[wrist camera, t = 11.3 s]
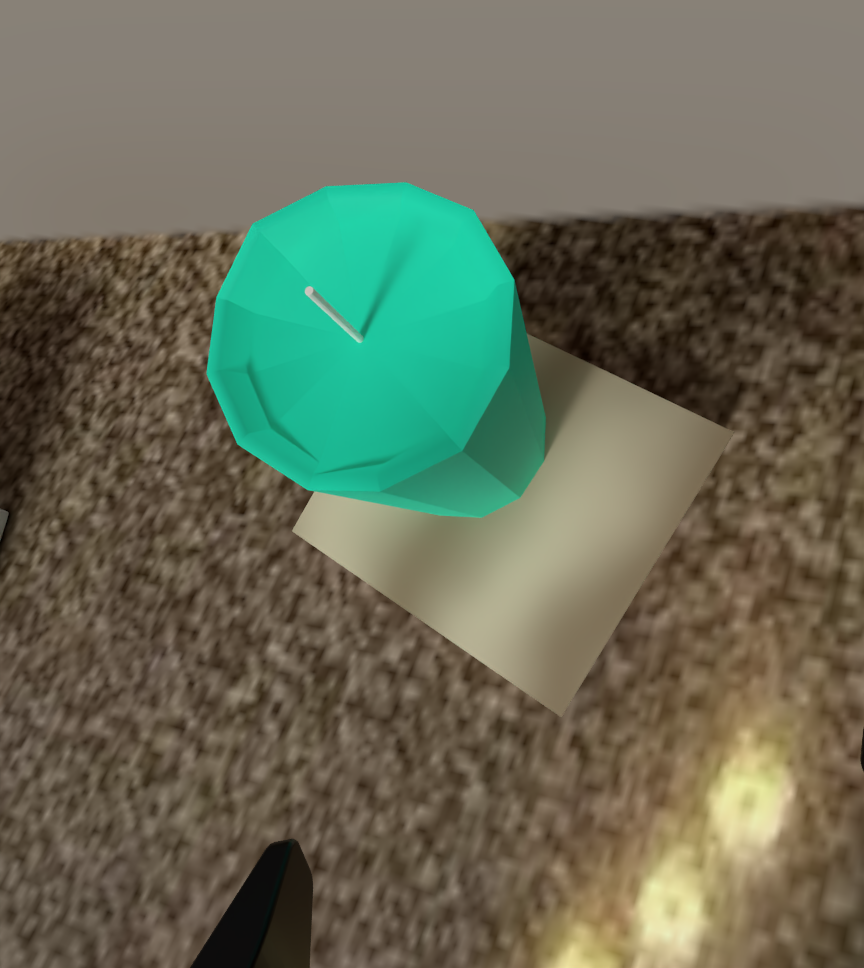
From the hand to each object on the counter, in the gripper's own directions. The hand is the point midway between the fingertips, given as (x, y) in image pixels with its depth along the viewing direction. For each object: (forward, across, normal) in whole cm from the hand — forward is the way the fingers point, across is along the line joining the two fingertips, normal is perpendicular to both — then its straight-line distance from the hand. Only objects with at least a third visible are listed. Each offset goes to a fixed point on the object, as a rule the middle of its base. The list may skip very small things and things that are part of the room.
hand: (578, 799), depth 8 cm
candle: (+13, 0, -2) cm, 13 cm away
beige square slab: (+14, -1, 0) cm, 14 cm away
